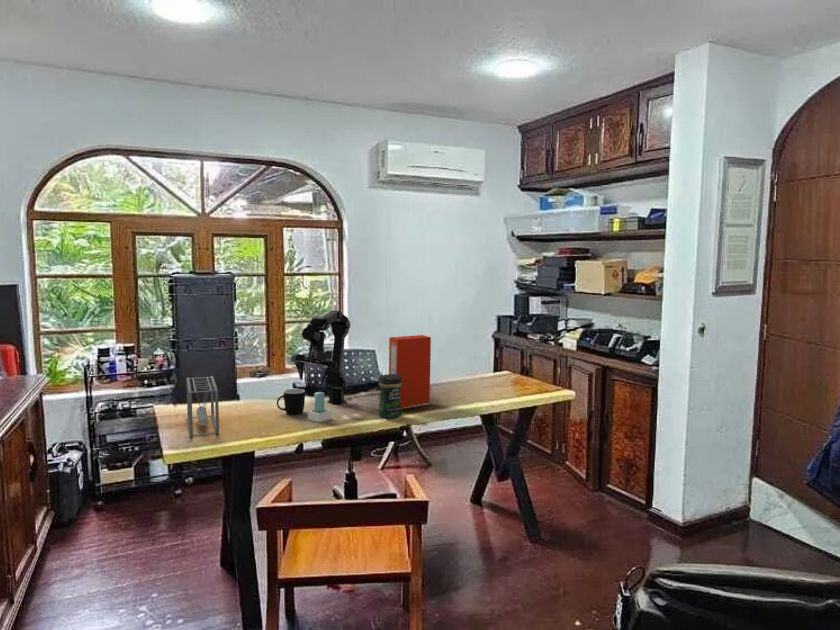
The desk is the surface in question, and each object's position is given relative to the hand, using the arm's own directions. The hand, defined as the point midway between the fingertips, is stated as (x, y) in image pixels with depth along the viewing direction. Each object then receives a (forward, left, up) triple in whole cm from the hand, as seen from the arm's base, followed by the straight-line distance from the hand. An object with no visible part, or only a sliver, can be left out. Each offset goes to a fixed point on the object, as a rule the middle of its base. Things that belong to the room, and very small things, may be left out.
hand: (311, 381), depth 245 cm
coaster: (-12, +13, -16) cm, 24 cm away
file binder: (-43, +18, -16) cm, 49 cm away
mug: (+1, -12, -16) cm, 20 cm away
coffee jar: (-24, +23, -16) cm, 37 cm away
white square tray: (-1, +4, -16) cm, 16 cm away
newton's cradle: (+35, -25, -16) cm, 46 cm away
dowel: (-1, +4, -15) cm, 16 cm away
